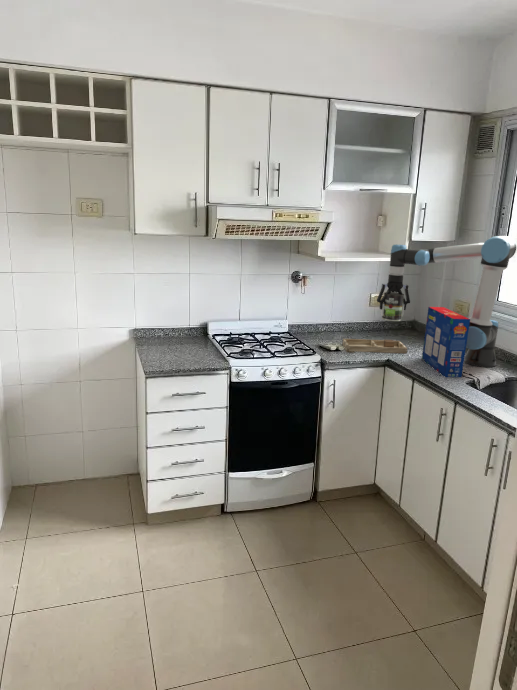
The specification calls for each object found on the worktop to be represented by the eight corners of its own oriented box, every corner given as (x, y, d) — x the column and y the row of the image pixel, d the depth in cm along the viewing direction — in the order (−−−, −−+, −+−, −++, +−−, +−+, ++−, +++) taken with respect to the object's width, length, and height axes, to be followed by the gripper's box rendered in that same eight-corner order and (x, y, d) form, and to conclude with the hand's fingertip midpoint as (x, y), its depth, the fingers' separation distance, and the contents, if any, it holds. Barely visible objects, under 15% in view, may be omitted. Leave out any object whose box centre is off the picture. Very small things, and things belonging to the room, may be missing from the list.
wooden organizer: (406, 354, 277) (407, 348, 276) (347, 352, 276) (347, 346, 275) (398, 346, 292) (399, 340, 291) (342, 344, 292) (342, 338, 291)
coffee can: (398, 322, 273) (401, 295, 269) (379, 319, 277) (382, 293, 274) (403, 318, 282) (406, 293, 278) (384, 316, 286) (386, 291, 283)
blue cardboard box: (461, 377, 243) (470, 319, 235) (444, 377, 242) (453, 318, 235) (436, 360, 269) (443, 307, 262) (421, 359, 269) (428, 306, 261)
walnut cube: (393, 350, 282) (394, 342, 281) (385, 349, 282) (386, 341, 281) (391, 347, 286) (392, 339, 285) (383, 347, 286) (384, 339, 285)
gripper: (415, 274, 277) (410, 314, 283) (373, 272, 277) (369, 313, 282) (419, 276, 270) (414, 317, 276) (376, 274, 270) (372, 316, 275)
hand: (391, 315), depth 279 cm, fingers closed on coffee can, 10 cm apart
